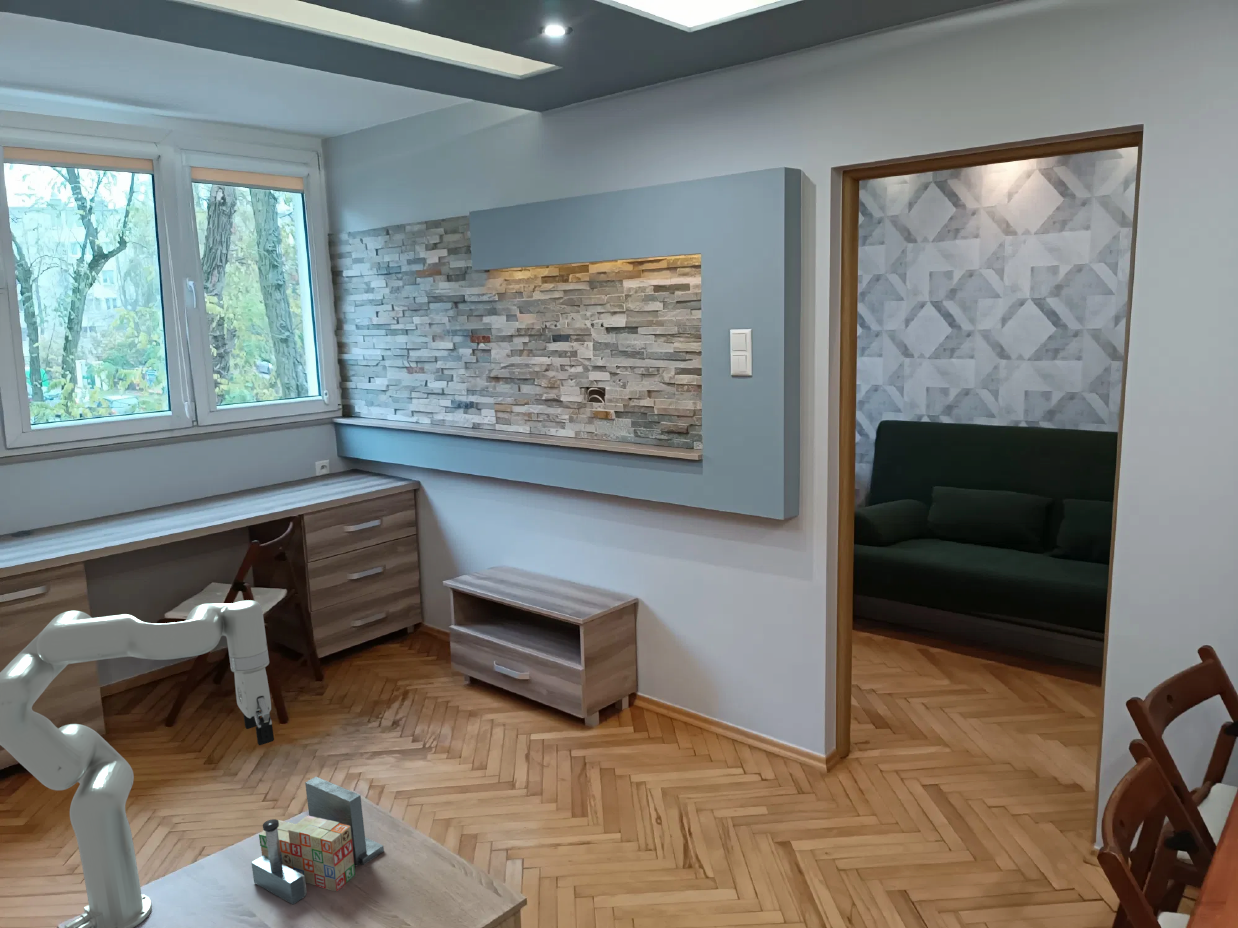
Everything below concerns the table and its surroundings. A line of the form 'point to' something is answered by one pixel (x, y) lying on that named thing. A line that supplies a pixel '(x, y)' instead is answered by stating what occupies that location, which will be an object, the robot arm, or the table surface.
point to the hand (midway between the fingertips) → (259, 734)
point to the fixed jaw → (342, 815)
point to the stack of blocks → (316, 850)
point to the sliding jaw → (277, 869)
